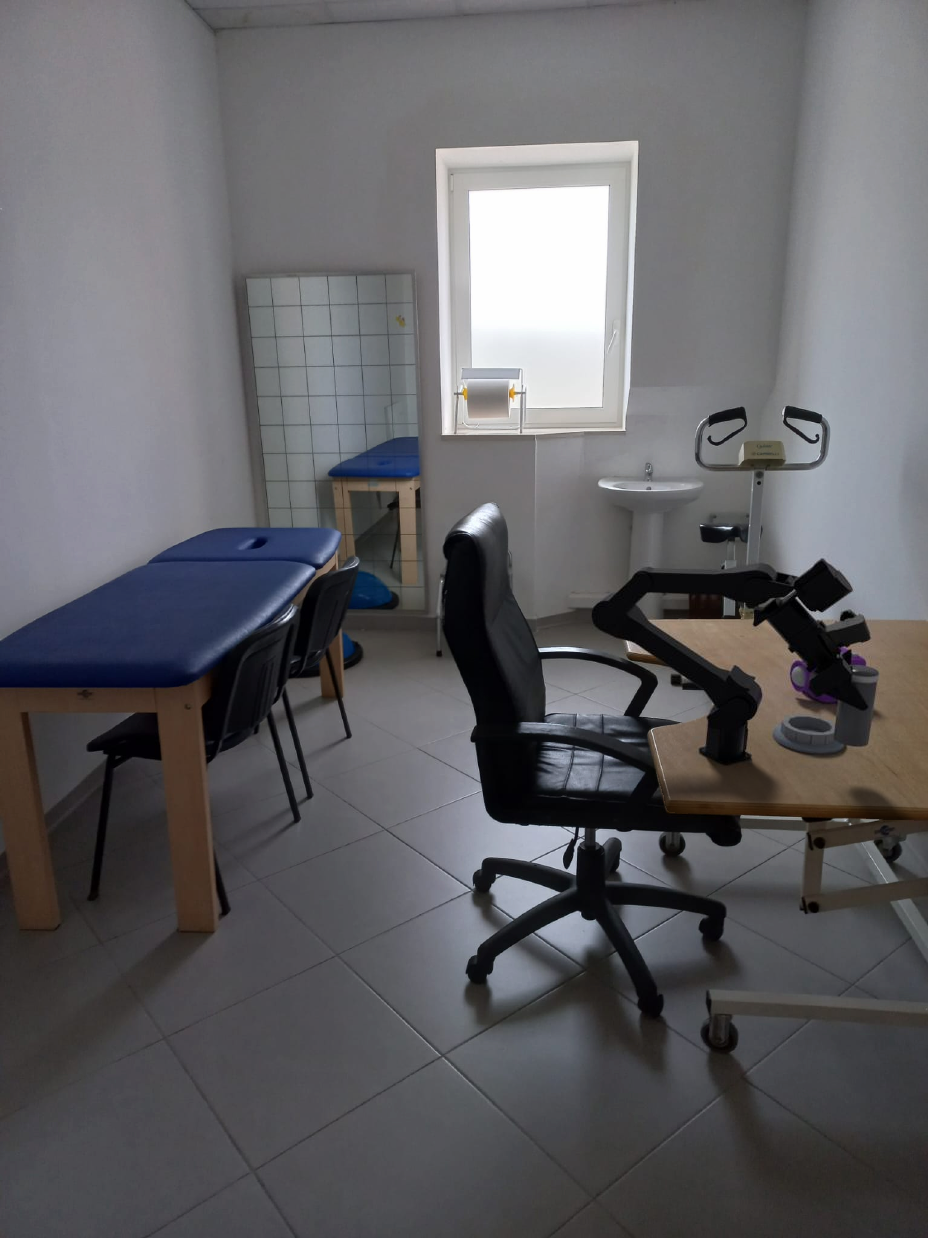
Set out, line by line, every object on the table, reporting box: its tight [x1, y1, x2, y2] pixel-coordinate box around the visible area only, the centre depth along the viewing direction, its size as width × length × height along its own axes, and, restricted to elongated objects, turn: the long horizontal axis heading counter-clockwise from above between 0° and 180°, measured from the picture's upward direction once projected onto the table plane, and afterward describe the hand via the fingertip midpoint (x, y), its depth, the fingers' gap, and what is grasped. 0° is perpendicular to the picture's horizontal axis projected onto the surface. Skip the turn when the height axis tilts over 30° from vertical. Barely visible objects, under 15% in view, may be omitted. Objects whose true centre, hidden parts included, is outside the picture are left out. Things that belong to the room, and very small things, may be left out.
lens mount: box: [772, 714, 845, 755], centre depth 153 cm, size 12×12×3 cm
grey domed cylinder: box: [834, 665, 880, 748], centre depth 136 cm, size 5×5×12 cm
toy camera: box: [789, 647, 867, 704], centre depth 173 cm, size 11×14×10 cm
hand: (865, 703), depth 136 cm, fingers closed on grey domed cylinder, 5 cm apart
